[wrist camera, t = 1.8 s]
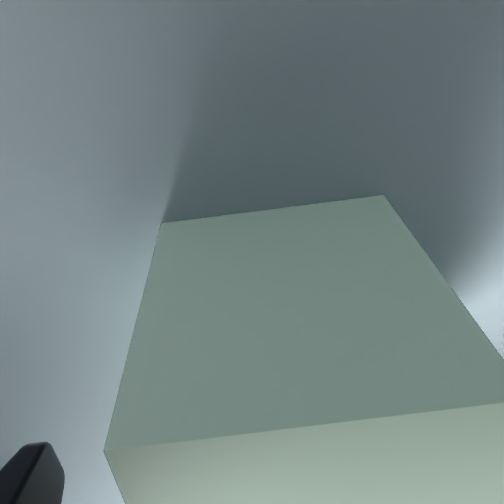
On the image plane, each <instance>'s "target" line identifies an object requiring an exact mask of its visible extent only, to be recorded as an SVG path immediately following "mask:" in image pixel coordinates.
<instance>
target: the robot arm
mask: <svg viewBox="0 0 504 504" xmlns="http://www.w3.org/2000/svg"><path fill="white" fill-rule="evenodd" d="M64 481H65V477H64V471H63V468H62V466H61V464H60V462H59V460H58V458H57V456H56V454H55V451H54V449H53V447H52V446H51V444H49V443H48V442H39V443H31V444H27V445H25V446H23V447H22V448H21V449H20V450H19V451H18V452H17V453H16V454H15V455H14V456H13V457H12V458H11V459H10V460H9V461H8V462H7V464H6V465H5V466H4V467H3V468H2V469H1V470H0V504H61V502H62V495H63V489H64Z"/></svg>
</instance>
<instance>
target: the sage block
mask: <svg viewBox="0 0 504 504" xmlns="http://www.w3.org/2000/svg"><path fill="white" fill-rule="evenodd" d="M103 451H104V454H105V456H106V459H107V461H108V463H109V466H110V468H111V471H112V473H113V476H114V478H115V480H116V483H117V485H118V488H119V490H120V492H121V495H122V497H123V500H124V502H125V504H504V360H503V358H502V357H501V355H500V354H499V353H498V351H497V350H496V349H495V347H494V346H493V344H492V343H491V342H490V340H489V339H488V338H487V336H486V335H485V333H484V332H483V331H482V329H481V328H480V327H479V325H478V324H477V322H476V321H475V320H474V318H473V317H472V316H471V314H470V313H469V311H468V310H467V309H466V307H465V306H464V305H463V303H462V302H461V300H460V299H459V298H458V296H457V295H456V294H455V292H454V291H453V289H452V288H451V287H450V285H449V284H448V283H447V281H446V280H445V278H444V277H443V276H442V274H441V273H440V272H439V270H438V269H437V267H436V266H435V265H434V263H433V262H432V261H431V259H430V258H429V256H428V255H427V254H426V252H425V251H424V250H423V248H422V247H421V245H420V244H419V243H418V241H417V240H416V238H415V237H414V236H413V234H412V233H411V232H410V230H409V229H408V227H407V226H406V225H405V223H404V222H403V221H402V219H401V218H400V216H399V215H398V214H397V212H396V211H395V210H394V208H393V207H392V205H391V204H390V203H389V201H388V200H387V199H386V197H385V196H384V195H379V196H371V197H363V198H355V199H347V200H339V201H332V202H324V203H316V204H308V205H300V206H292V207H284V208H277V209H269V210H261V211H253V212H245V213H237V214H229V215H222V216H214V217H206V218H198V219H190V220H182V221H174V222H167V223H161V225H160V229H159V233H158V237H157V241H156V245H155V249H154V253H153V257H152V261H151V265H150V269H149V273H148V277H147V281H146V285H145V289H144V293H143V296H142V300H141V304H140V308H139V312H138V316H137V320H136V324H135V328H134V332H133V336H132V340H131V344H130V348H129V352H128V356H127V360H126V364H125V368H124V372H123V375H122V379H121V383H120V387H119V391H118V395H117V399H116V403H115V407H114V411H113V415H112V419H111V423H110V427H109V431H108V435H107V439H106V443H105V447H104V450H103Z"/></svg>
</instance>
